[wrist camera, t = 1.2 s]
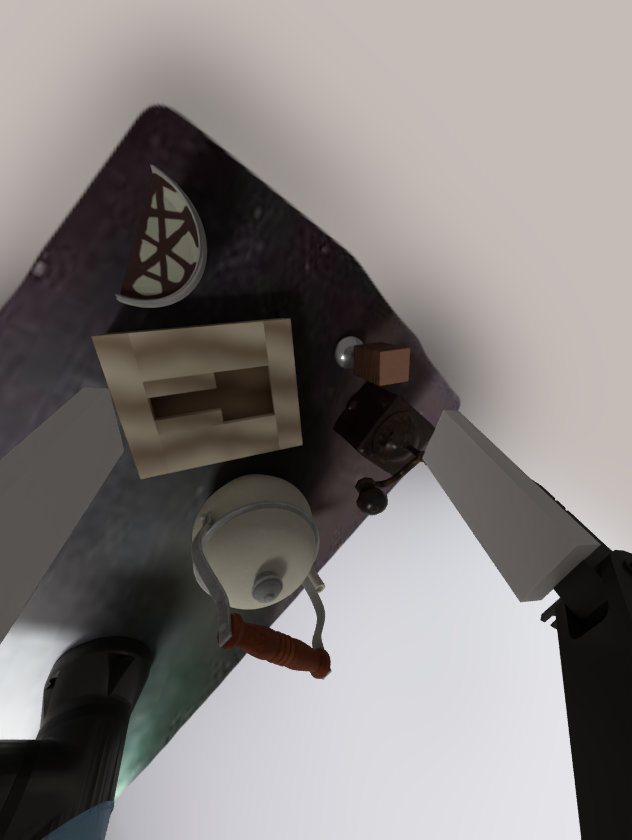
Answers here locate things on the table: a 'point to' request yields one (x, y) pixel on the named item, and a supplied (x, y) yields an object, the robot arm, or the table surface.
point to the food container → (165, 248)
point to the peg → (373, 360)
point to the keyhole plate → (203, 392)
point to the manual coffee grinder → (383, 439)
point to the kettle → (260, 565)
